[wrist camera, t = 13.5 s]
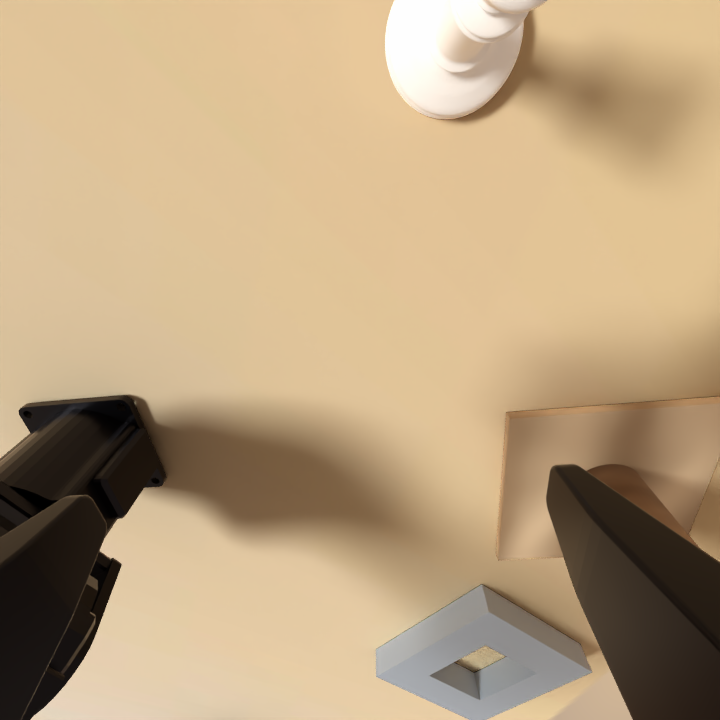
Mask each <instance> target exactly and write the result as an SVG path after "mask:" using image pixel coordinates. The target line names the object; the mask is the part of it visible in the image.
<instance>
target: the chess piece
mask: <svg viewBox="0 0 720 720" xmlns="http://www.w3.org/2000/svg"><path fill="white" fill-rule="evenodd" d="M546 1H547V0H394V3H393V5H392V8H391V11H390V14H389V18H388V22H387V28H386V36H385V52H386V60H387V66H388V70H389V73H390V76H391V79H392V81H393V83H394V85H395V87H396V89H397V91H398V92H399V94H400V95H401V97H402V98H403V99H404V100H405V101H406V102H407V103H408V104H409V105H410V106H411V107H412V108H413V109H415V110H416V111H418V112H419V113H421V114H423V115H426V116H428V117H432V118H436V119H455V118H459V117H463V116H466V115H468V114H470V113H473V112H474V111H476V110H478V109H479V108H481V107H482V106H484V105H485V104H486V103H487V102H488V101H489V100H491V99H492V98H493V96H494V95H495V94H496V93H497V92H498V91H499V89H500V88H501V87H502V86H503V84H504V83H505V81H506V80H507V78H508V77H509V75H510V73H511V71H512V69H513V67H514V65H515V63H516V60H517V57H518V55H519V51H520V47H521V43H522V38H523V28H524V19H525V18H526V16H527V15H528V13H529V11H531V10H533V9H535V8H537V7H539V6H540V5H542V4H543V3H545V2H546Z"/></svg>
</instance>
